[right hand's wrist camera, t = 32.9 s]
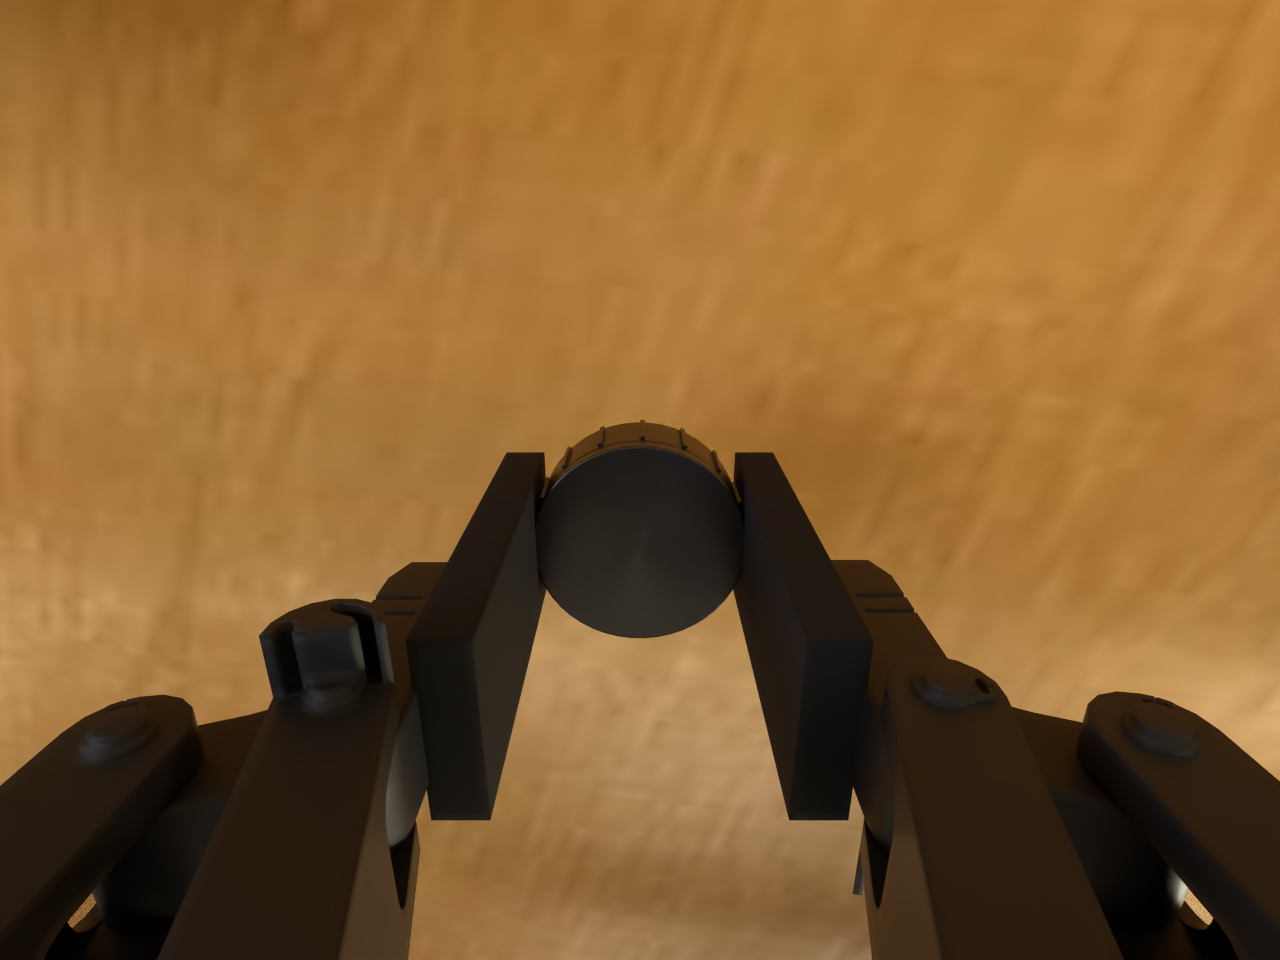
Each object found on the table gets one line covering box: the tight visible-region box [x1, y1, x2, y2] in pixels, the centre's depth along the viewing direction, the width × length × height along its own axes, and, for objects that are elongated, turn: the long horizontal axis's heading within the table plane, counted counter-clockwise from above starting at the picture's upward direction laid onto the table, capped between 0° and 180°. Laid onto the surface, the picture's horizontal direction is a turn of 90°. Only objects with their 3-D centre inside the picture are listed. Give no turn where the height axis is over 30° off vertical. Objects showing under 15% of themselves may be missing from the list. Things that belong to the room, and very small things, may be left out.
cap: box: [535, 420, 744, 638], centre depth 14 cm, size 4×4×2 cm
